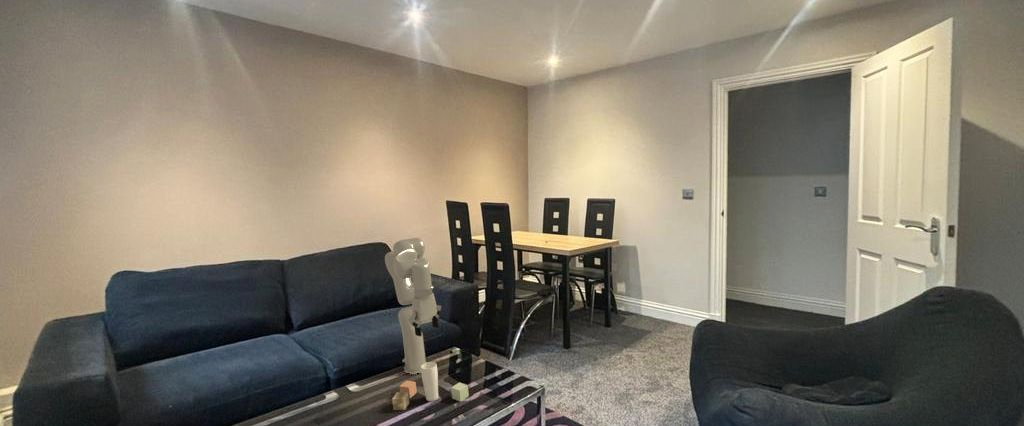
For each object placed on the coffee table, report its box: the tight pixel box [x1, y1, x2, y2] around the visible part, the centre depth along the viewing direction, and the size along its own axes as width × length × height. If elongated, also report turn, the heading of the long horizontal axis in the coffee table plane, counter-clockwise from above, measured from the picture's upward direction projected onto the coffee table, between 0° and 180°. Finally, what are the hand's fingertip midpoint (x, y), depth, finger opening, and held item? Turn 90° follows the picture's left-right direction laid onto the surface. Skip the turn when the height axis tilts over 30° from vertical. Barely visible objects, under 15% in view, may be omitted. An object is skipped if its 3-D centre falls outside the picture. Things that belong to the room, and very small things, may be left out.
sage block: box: [450, 382, 470, 402], centre depth 193 cm, size 5×5×5 cm
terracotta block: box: [399, 380, 418, 399], centre depth 199 cm, size 5×5×5 cm
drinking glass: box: [420, 361, 439, 402], centre depth 193 cm, size 7×7×15 cm
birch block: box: [391, 391, 410, 411], centre depth 190 cm, size 5×5×5 cm
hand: (427, 331), depth 190 cm, fingers open, 9 cm apart
